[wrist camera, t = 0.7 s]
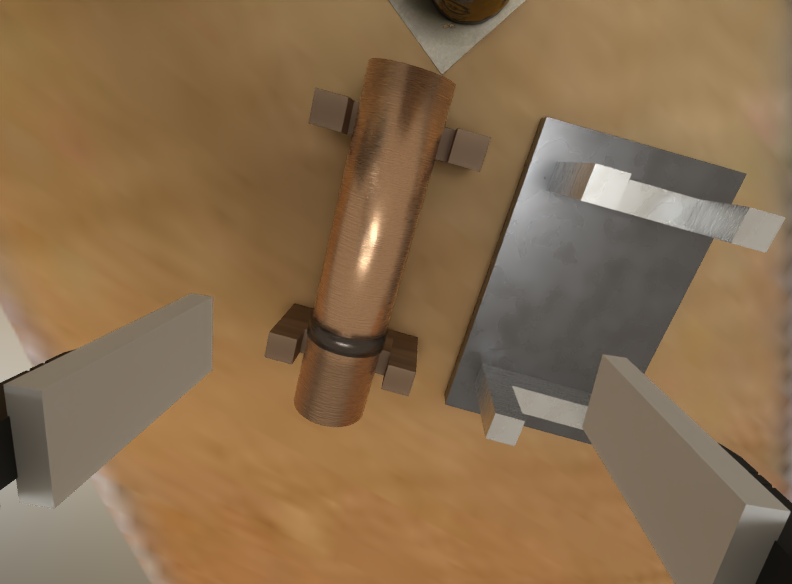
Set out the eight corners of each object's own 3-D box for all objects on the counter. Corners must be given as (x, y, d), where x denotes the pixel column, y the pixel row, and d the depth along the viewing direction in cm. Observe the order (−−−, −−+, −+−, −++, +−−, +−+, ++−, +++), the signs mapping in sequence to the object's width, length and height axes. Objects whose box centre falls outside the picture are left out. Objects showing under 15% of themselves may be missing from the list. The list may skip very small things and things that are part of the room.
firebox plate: (541, 118, 30) (583, 105, 22) (731, 173, 30) (843, 179, 22) (444, 394, 37) (449, 461, 29) (598, 437, 37) (646, 515, 29)
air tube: (372, 70, 26) (359, 49, 21) (455, 93, 26) (462, 79, 21) (303, 376, 33) (281, 415, 28) (369, 394, 33) (359, 436, 28)
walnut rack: (336, 100, 30) (315, 87, 25) (479, 140, 31) (490, 137, 25) (290, 325, 36) (264, 357, 30) (411, 358, 36) (408, 396, 31)
